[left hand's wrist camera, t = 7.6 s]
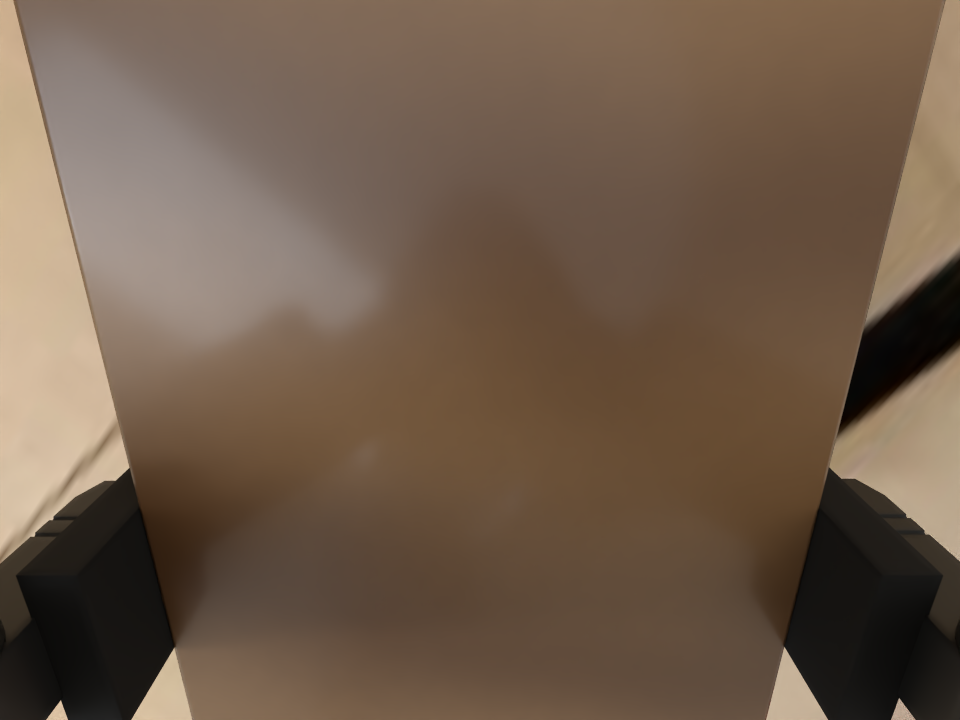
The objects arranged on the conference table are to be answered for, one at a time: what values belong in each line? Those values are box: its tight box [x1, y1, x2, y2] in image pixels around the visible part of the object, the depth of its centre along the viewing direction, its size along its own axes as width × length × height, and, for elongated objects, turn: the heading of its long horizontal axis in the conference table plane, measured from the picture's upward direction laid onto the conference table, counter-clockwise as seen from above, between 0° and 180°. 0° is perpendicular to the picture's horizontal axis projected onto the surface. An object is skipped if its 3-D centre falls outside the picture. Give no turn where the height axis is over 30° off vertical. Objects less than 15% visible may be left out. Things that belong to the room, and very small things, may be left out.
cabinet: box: [13, 0, 945, 720], centre depth 11 cm, size 21×10×8 cm, turn 0°
